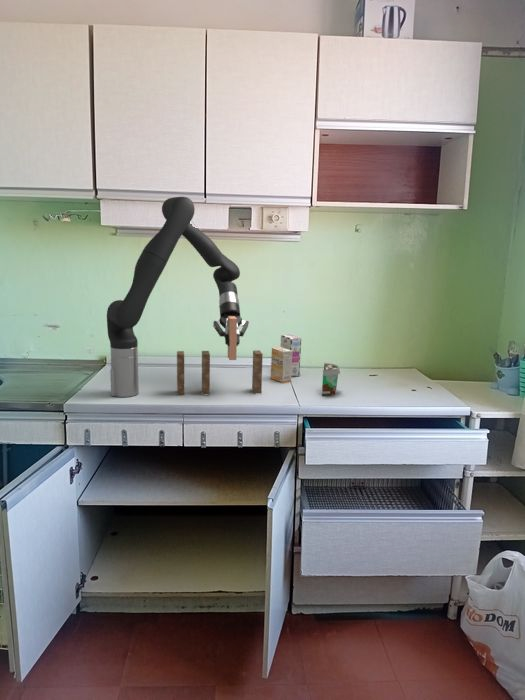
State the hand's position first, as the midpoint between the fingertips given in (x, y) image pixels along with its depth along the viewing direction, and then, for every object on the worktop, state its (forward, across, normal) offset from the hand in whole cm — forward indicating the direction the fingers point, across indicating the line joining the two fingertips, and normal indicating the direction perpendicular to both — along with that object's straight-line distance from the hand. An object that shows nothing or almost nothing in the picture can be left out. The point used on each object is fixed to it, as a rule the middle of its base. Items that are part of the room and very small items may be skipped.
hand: (232, 344), depth 176 cm
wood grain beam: (+11, +9, +14) cm, 21 cm away
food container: (+15, +37, +12) cm, 41 cm away
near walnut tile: (+11, -19, +14) cm, 26 cm away
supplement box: (+1, +22, +25) cm, 33 cm away
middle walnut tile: (+11, -10, +14) cm, 21 cm away
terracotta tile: (+2, 0, +5) cm, 6 cm away
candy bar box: (-6, +28, +32) cm, 43 cm away
